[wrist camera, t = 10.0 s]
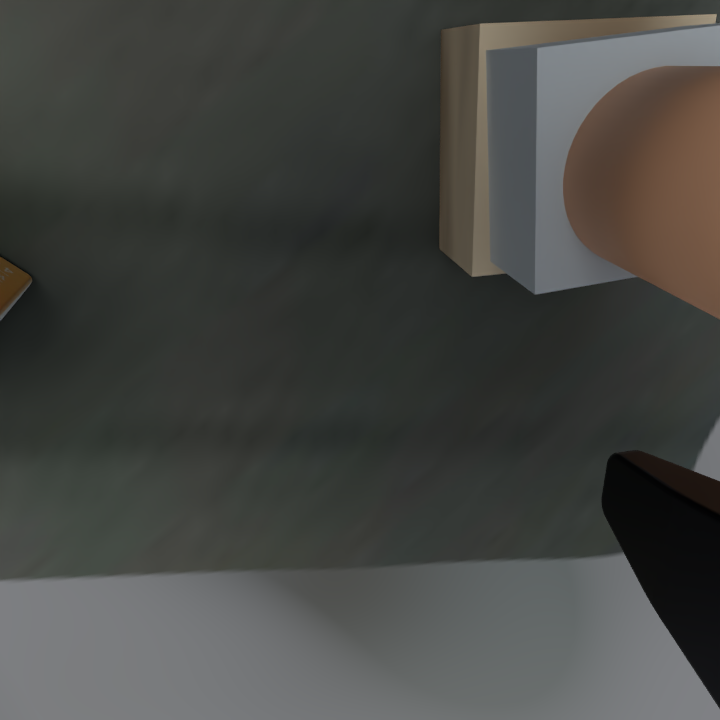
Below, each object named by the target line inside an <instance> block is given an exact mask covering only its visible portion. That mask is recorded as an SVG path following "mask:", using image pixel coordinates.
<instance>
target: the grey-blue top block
mask: <svg viewBox="0 0 720 720" xmlns="http://www.w3.org/2000/svg"><path fill="white" fill-rule="evenodd" d="M662 66H720V23H714V24H701V25H689V26H680V27H672V28H664V29H656V30H647V31H639V32H631V33H623V34H615V35H607V36H599V37H591V38H582V39H574V40H566V41H558V42H550V43H542V44H534V45H526V46H517V47H509V48H501V49H493V50H486V83H487V129H488V176H489V222H490V262H492V263H493V264H494V265H496V266H497V267H498V268H500V269H501V270H502V271H504V272H505V273H507V274H508V275H509V276H511V277H512V278H513V279H515V280H516V281H517V282H519V283H520V284H521V285H523V286H524V287H525V288H527V289H528V290H529V291H531V292H532V293H533V294H535V295H536V294H541V293H547V292H553V291H559V290H565V289H570V288H576V287H582V286H588V285H593V284H599V283H605V282H611V281H616V280H622V279H628V278H634V277H638V276H636V275H634V274H632V273H630V272H628V271H626V270H624V269H622V268H620V267H618V266H617V265H615V264H613V263H611V262H609V261H607V260H605V259H603V258H601V257H599V256H598V255H596V254H595V253H593V252H592V251H590V250H589V249H588V248H587V247H586V246H585V245H584V244H583V243H582V242H581V241H580V239H579V238H578V237H577V236H576V234H575V232H574V230H573V229H572V227H571V225H570V222H569V220H568V217H567V214H566V210H565V206H564V197H563V177H564V170H565V164H566V160H567V156H568V153H569V150H570V147H571V144H572V142H573V139H574V137H575V135H576V133H577V131H578V129H579V127H580V126H581V124H582V122H583V121H584V119H585V118H586V116H587V115H588V113H589V112H590V111H591V110H592V108H593V107H594V106H595V105H596V103H597V102H598V101H599V100H600V99H601V98H602V97H603V96H604V95H605V94H606V93H608V92H609V91H610V90H611V89H613V88H614V87H615V86H616V85H618V84H619V83H621V82H622V81H624V80H626V79H627V78H629V77H631V76H633V75H635V74H637V73H640V72H642V71H645V70H648V69H652V68H655V67H662Z"/></svg>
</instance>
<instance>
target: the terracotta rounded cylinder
mask: <svg viewBox="0 0 720 720" xmlns="http://www.w3.org/2000/svg"><path fill="white" fill-rule="evenodd" d="M563 197H564V206H565V210H566V214H567V217H568V220H569V222H570V225H571V227H572V229H573V230H574V232H575V234H576V236H577V237H578V238H579V239H580V241H581V242H582V243H583V244H584V245H585V246H586V247H587V248H588V249H589V250H590V251H592V252H593V253H595V254H596V255H598V256H599V257H601V258H603V259H605V260H607V261H609V262H611V263H613V264H615V265H617V266H618V267H620V268H622V269H624V270H626V271H628V272H630V273H632V274H634V275H636V276H638V277H640V278H641V279H643V280H645V281H647V282H649V283H651V284H653V285H655V286H657V287H659V288H661V289H663V290H664V291H666V292H668V293H670V294H672V295H674V296H676V297H678V298H680V299H682V300H684V301H686V302H687V303H689V304H691V305H693V306H695V307H697V308H699V309H701V310H703V311H705V312H707V313H709V314H710V315H712V316H714V317H716V318H718V319H720V66H662V67H655V68H652V69H648V70H645V71H642V72H640V73H637V74H635V75H633V76H631V77H629V78H627V79H626V80H624V81H622V82H621V83H619V84H618V85H616V86H615V87H614V88H613V89H611V90H610V91H609V92H608V93H606V94H605V95H604V96H603V97H602V98H601V99H600V100H599V101H598V102H597V103H596V105H595V106H594V107H593V108H592V110H591V111H590V112H589V113H588V115H587V116H586V118H585V119H584V121H583V122H582V124H581V126H580V127H579V129H578V131H577V133H576V135H575V137H574V139H573V142H572V144H571V147H570V150H569V153H568V156H567V160H566V164H565V170H564V177H563Z"/></svg>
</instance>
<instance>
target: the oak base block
mask: <svg viewBox="0 0 720 720" xmlns="http://www.w3.org/2000/svg"><path fill="white" fill-rule="evenodd" d="M716 16H717V14H708V15H683V16H658V17H633V18H608V19H584V20H559V21H534V22H509V23H484V24H475V25H468V26H462V27H456V28H450V29H443V30H441V103H440V218H439V249H440V250H441V251H442V252H443V253H445V254H446V255H447V256H448V257H449V258H450V259H452V260H453V261H454V262H455V263H456V264H458V265H459V266H460V267H461V268H462V269H463V270H465V271H466V272H467V273H468V274H469V275H470V276H472V277H477V276H486V275H496V274H506V273H505V272H504V271H502V270H501V269H500V268H498V267H497V266H496V265H494V264H493V263H492V262H490V222H489V176H488V129H487V83H486V50H493V49H501V48H509V47H517V46H526V45H534V44H542V43H550V42H558V41H566V40H574V39H582V38H591V37H599V36H607V35H615V34H623V33H631V32H639V31H647V30H656V29H664V28H672V27H680V26H689V25H701V24H714V23H715V22H716Z"/></svg>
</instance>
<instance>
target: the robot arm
mask: <svg viewBox="0 0 720 720" xmlns="http://www.w3.org/2000/svg"><path fill="white" fill-rule="evenodd" d="M602 509H603V512H604V515H605V517H606V519H607V521H608V523H609V525H610V527H611V529H612V531H613V533H614V535H615V537H616V538H617V540H618V542H619V544H620V546H621V548H622V550H623V552H624V554H625V556H626V558H627V560H628V561H629V563H630V565H631V567H632V569H633V571H634V573H635V575H636V577H637V578H638V581H639V582H640V584H641V586H642V588H643V590H644V592H645V593H646V595H647V597H648V599H649V601H650V603H651V604H652V606H653V607H654V609H655V611H656V612H657V614H658V615H659V617H660V619H661V620H662V622H663V623H664V625H665V626H666V628H667V629H668V630H669V632H670V634H671V635H672V637H673V638H674V640H675V641H676V643H677V645H678V646H679V648H680V649H681V651H682V652H683V653H684V655H685V656H686V658H687V660H688V661H689V663H690V664H691V666H692V667H693V669H694V670H695V672H696V673H697V675H698V676H699V678H700V679H701V681H702V682H703V684H704V685H705V687H706V689H707V690H708V691H709V693H710V695H711V696H712V698H713V699H714V701H715V702H716V704H717V705H718V707H719V708H720V481H717V480H715V479H712V478H710V477H707V476H704V475H702V474H699V473H697V472H694V471H691V470H689V469H686V468H684V467H681V466H679V465H676V464H673V463H671V462H668V461H666V460H663V459H660V458H658V457H655V456H653V455H650V454H647V453H645V452H642V451H638V450H633V451H626V452H618V453H614V454H612V455H611V456H610V457H609V459H608V462H607V467H606V474H605V480H604V486H603V492H602Z"/></svg>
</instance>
